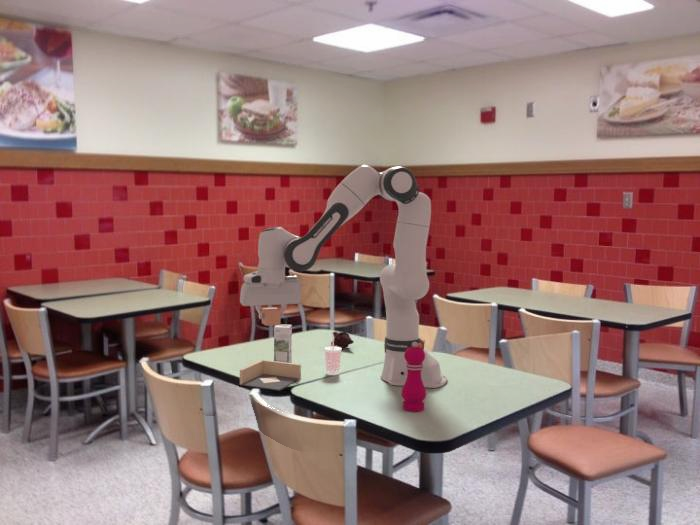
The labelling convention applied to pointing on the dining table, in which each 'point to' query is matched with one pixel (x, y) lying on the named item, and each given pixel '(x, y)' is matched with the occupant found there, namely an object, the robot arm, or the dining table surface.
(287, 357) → the syrup box
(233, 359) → the dining table surface
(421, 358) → the pepper mill
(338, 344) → the brown gnome figurine
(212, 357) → the dining table surface
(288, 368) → the arena
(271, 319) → the cube
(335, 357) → the beverage cup
